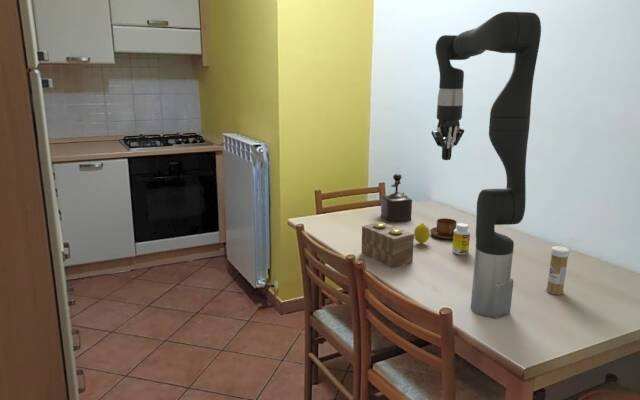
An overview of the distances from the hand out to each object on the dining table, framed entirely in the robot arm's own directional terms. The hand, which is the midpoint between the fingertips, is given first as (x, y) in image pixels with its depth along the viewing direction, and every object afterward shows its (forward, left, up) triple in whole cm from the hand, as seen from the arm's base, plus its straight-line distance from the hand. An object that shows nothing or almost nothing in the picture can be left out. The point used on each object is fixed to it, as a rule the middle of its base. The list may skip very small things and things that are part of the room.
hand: (446, 159), depth 154 cm
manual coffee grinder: (+49, -25, -35) cm, 65 cm away
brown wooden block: (+14, +11, -35) cm, 39 cm away
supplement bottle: (+3, -14, -35) cm, 38 cm away
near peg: (+10, +11, -34) cm, 37 cm away
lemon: (+17, -9, -35) cm, 40 cm away
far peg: (+18, +11, -34) cm, 40 cm away
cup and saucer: (+18, -24, -35) cm, 46 cm away
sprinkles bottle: (-34, -11, -35) cm, 50 cm away
